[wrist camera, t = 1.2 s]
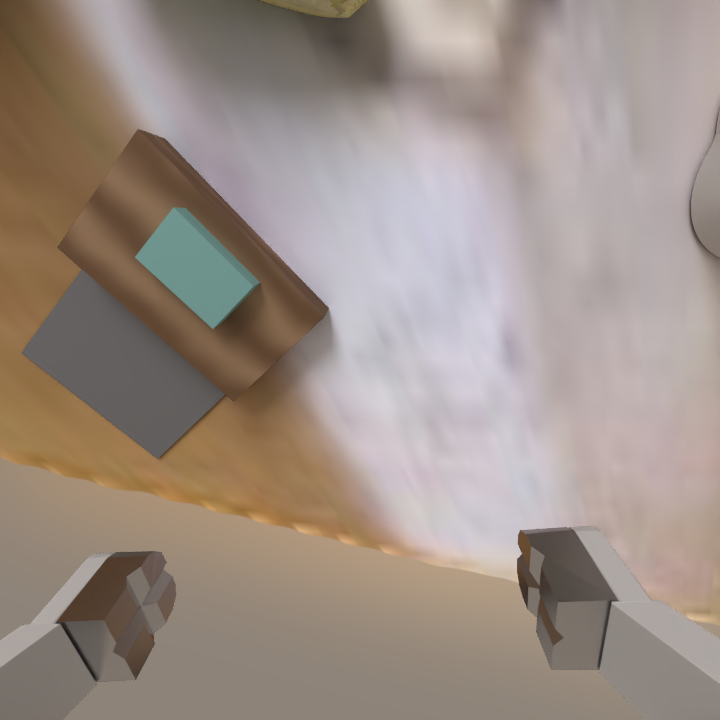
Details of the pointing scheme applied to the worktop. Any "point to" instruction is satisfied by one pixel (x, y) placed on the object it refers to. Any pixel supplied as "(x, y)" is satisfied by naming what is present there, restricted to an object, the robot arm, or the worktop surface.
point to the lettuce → (321, 7)
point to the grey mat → (120, 367)
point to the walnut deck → (156, 301)
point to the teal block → (196, 267)
